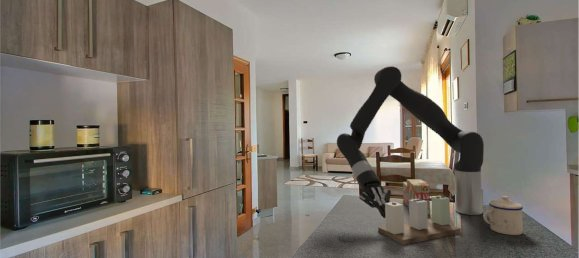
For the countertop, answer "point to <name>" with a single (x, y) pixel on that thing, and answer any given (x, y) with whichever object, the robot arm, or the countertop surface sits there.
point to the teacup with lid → (505, 216)
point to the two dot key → (440, 210)
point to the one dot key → (394, 217)
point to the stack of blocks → (416, 191)
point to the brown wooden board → (421, 232)
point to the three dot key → (418, 213)
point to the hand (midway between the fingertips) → (387, 216)
